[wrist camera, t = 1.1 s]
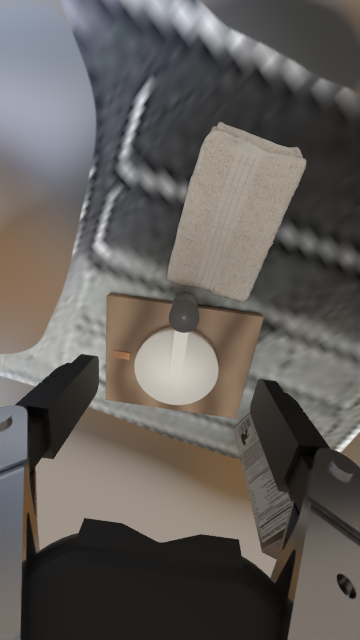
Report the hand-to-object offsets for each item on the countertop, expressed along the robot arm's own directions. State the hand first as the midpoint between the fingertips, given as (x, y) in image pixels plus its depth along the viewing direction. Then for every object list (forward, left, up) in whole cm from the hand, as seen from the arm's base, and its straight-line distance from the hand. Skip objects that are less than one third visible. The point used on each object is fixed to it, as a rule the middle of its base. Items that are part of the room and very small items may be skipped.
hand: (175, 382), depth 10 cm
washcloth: (-4, -10, -21) cm, 24 cm away
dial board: (0, +10, -20) cm, 22 cm away
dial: (0, +7, -18) cm, 20 cm away
